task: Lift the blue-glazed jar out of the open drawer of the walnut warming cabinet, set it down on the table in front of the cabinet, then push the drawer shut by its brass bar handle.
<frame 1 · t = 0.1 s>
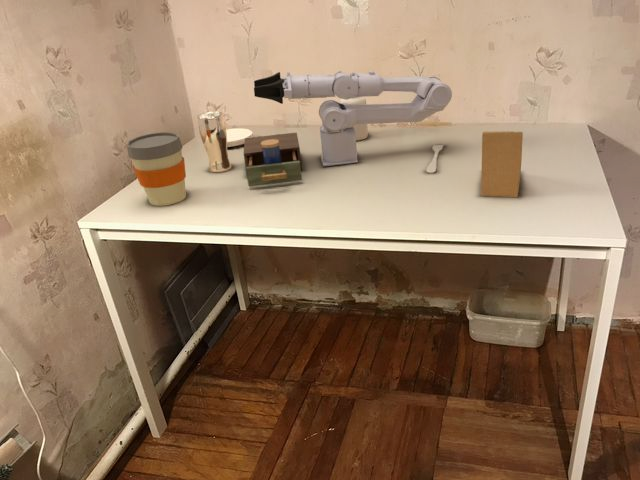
hand: (254, 88, 147), 22 cm above the table, tool horizontal, fingers open, 7 cm apart
drawer: (273, 168, 148), point 3 cm above the table, slide at 8.0 cm, touching jar
plastic lid: (231, 143, 181), on the table
cabinet: (274, 165, 160), on the table
jar: (274, 172, 150), point 2 cm above the table, touching drawer
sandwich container: (500, 184, 137), on the table
beer glass: (220, 169, 161), on the table
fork: (435, 159, 155), on the table
reusable coffee cup: (168, 199, 145), on the table
pill bottle: (355, 138, 177), on the table
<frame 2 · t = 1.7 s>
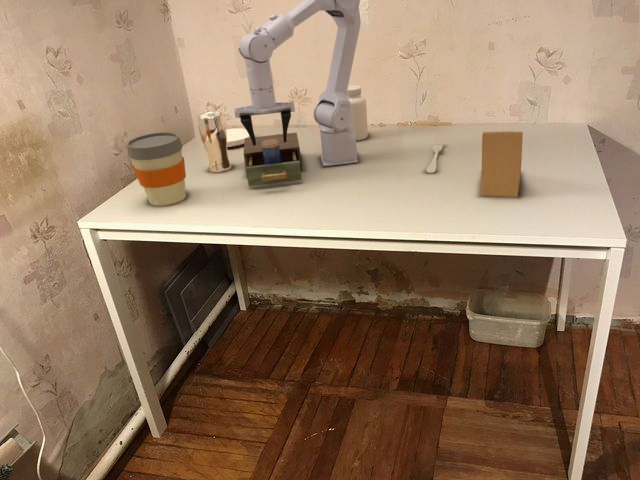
hand: (269, 142, 146), 10 cm above the table, tool pointing down, fingers open, 7 cm apart
nothing on the table moved.
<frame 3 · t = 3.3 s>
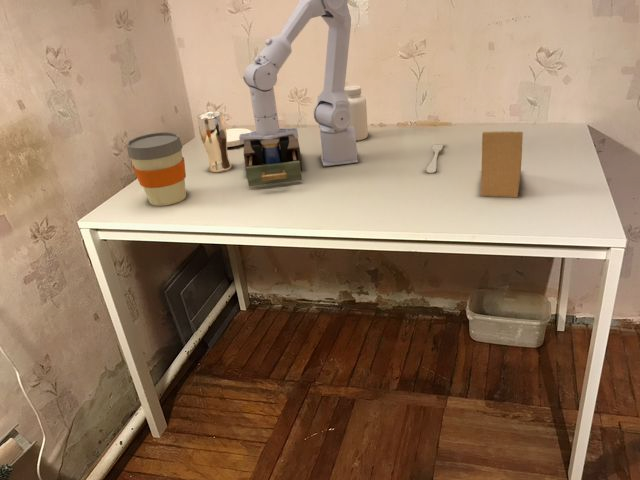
hand: (273, 167, 149), 3 cm above the table, tool pointing down, fingers closed on jar, 4 cm apart
jar: (274, 172, 150), point 2 cm above the table, touching drawer, gripper
everything else where it was.
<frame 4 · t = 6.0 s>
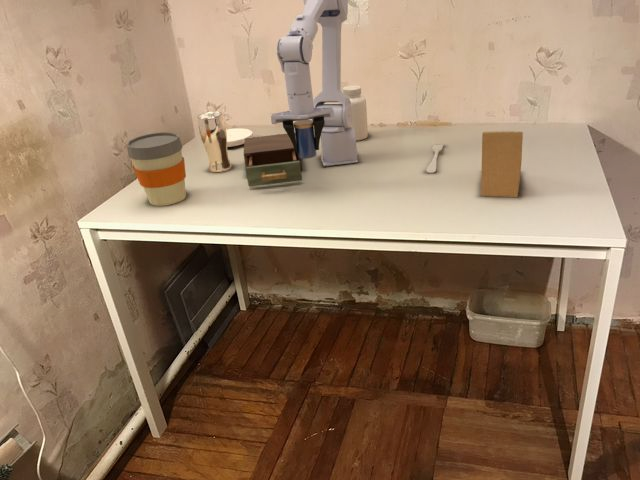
hand: (306, 150, 138), 10 cm above the table, tool pointing down, fingers closed on jar, 4 cm apart
drawer: (273, 168, 148), point 3 cm above the table, slide at 8.0 cm
jar: (307, 155, 139), point 9 cm above the table, touching gripper
everything else where it was.
when the fingers open (1 cm above the table, at t = 8.7 s): jar stays where it is, on the table.
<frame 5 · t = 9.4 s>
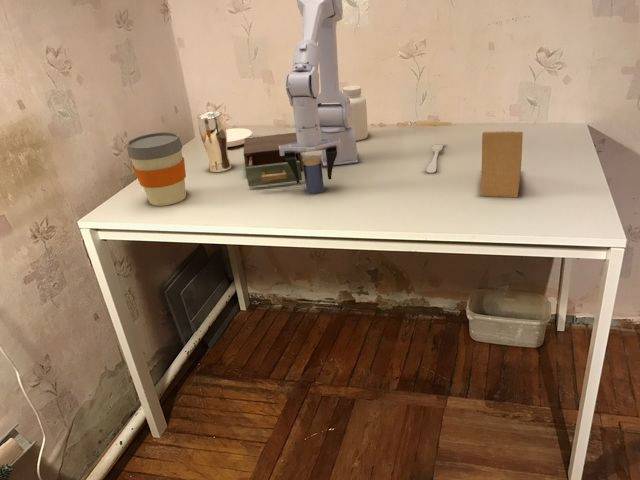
hand: (314, 180, 141), 3 cm above the table, tool pointing down, fingers open, 7 cm apart
jar: (315, 190, 142), on the table
everything else where it was.
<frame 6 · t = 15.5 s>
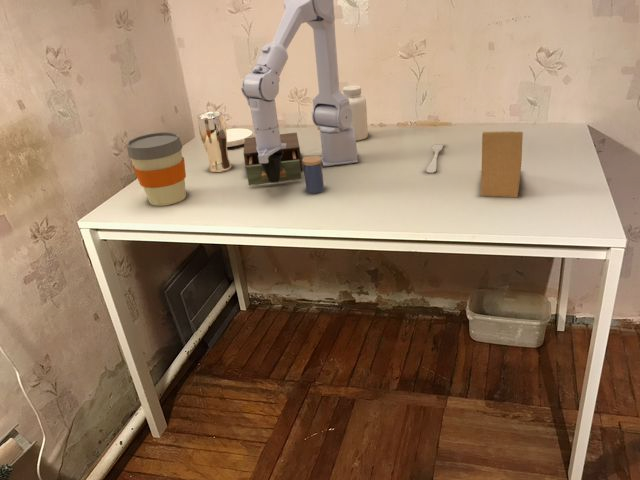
hand: (274, 181, 141), 3 cm above the table, tool pointing down, fingers closed
drawer: (273, 167, 149), point 3 cm above the table, slide at 7.0 cm, touching gripper
everything else where it was.
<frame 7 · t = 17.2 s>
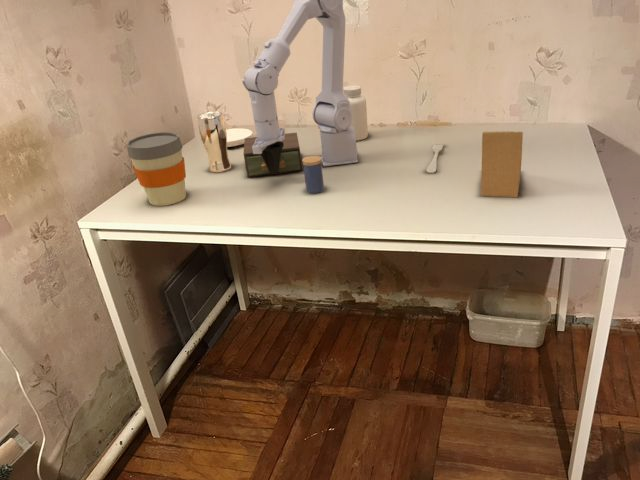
hand: (274, 172, 147), 3 cm above the table, tool pointing down, fingers closed, pressing on drawer
drawer: (273, 158, 155), point 3 cm above the table, slide at 0.1 cm, touching gripper
everything else where it was.
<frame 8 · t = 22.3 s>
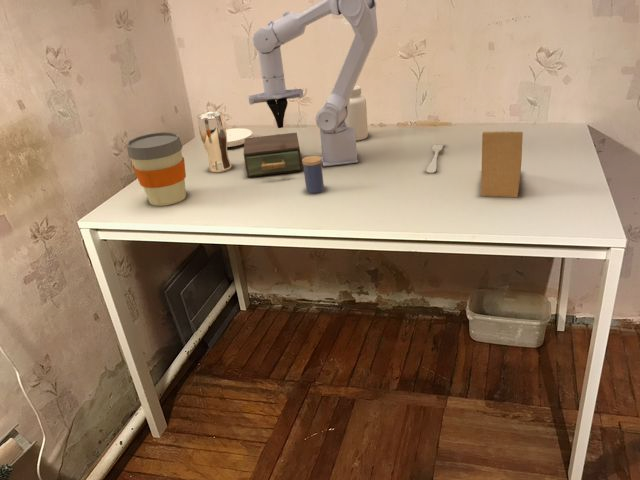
hand: (280, 126, 159), 9 cm above the table, tool pointing down, fingers closed
drawer: (273, 158, 155), point 3 cm above the table, slide at 0.0 cm
everything else where it was.
at the end: jar inside the target area (0.1 cm from its centre), on the table; jar tilted 0°; drawer slide at 0.0 cm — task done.
